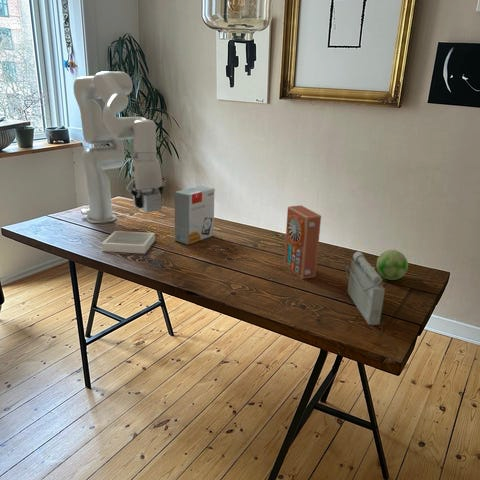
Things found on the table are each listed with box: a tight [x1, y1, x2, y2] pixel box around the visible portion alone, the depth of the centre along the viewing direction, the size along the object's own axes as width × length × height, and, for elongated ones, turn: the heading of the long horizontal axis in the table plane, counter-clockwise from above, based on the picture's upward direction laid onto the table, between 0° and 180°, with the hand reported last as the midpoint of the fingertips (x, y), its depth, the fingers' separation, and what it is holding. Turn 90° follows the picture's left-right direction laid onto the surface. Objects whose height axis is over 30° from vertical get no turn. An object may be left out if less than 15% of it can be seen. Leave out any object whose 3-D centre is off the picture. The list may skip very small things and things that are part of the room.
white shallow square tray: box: [101, 230, 156, 255], centre depth 172 cm, size 16×14×3 cm
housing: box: [132, 188, 163, 213], centre depth 164 cm, size 10×6×6 cm, turn 41°
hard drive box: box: [173, 185, 215, 246], centre depth 179 cm, size 16×8×20 cm, turn 143°
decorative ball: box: [376, 249, 409, 281], centre depth 150 cm, size 10×10×10 cm
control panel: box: [283, 205, 322, 280], centre depth 152 cm, size 21×7×15 cm
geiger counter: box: [345, 251, 386, 326], centre depth 132 cm, size 14×6×25 cm
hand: (147, 205), depth 165 cm, fingers closed on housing, 6 cm apart
